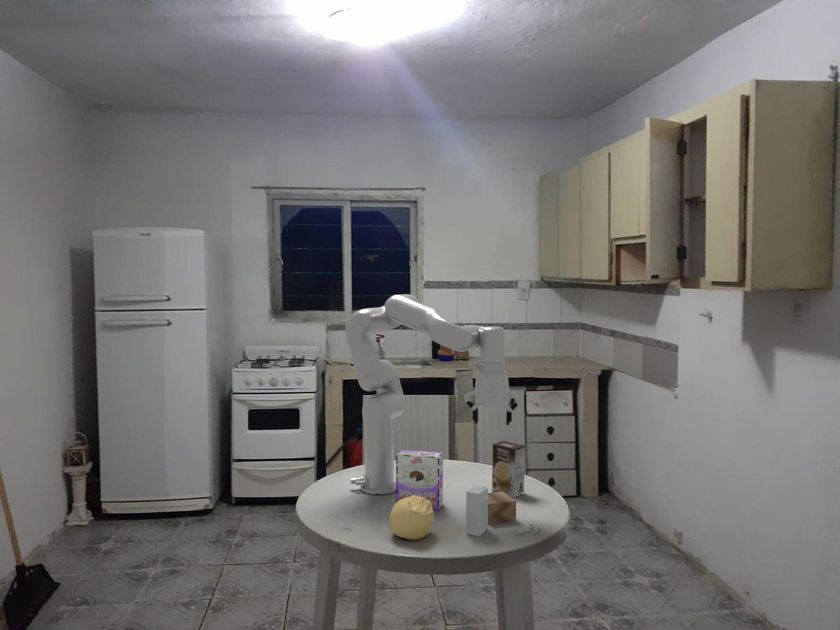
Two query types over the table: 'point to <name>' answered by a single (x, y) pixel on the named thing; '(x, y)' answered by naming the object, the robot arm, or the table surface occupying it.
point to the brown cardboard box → (501, 508)
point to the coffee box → (508, 468)
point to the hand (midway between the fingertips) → (492, 423)
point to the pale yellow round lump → (412, 517)
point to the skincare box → (477, 510)
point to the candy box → (420, 476)
